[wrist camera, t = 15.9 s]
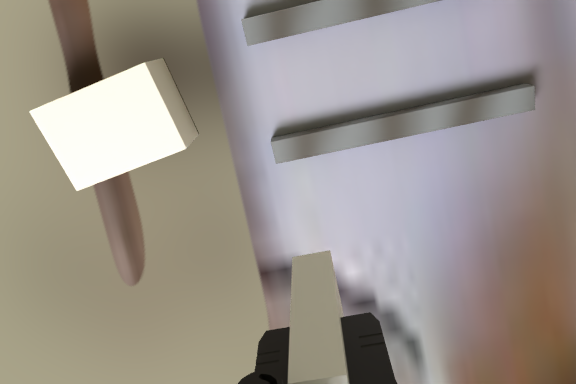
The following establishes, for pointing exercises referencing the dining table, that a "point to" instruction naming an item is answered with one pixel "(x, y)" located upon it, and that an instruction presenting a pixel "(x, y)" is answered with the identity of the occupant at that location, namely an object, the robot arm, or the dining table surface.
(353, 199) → the dining table surface
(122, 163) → the cream block
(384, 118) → the twin grey rails
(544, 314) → the dining table surface
